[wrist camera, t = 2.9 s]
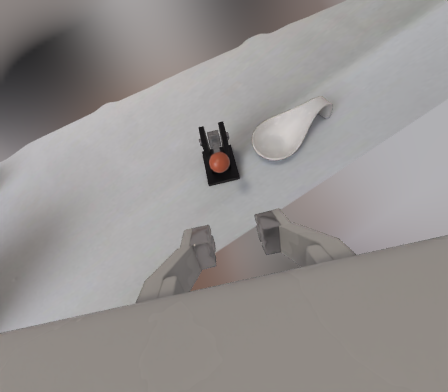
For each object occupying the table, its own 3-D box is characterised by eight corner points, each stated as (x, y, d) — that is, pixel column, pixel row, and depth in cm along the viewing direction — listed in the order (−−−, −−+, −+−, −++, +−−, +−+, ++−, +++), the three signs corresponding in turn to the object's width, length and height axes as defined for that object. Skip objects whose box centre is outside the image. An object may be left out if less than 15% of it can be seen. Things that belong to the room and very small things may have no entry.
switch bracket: (239, 179, 41) (239, 149, 29) (209, 186, 42) (196, 159, 30) (230, 147, 45) (227, 109, 33) (203, 154, 45) (189, 118, 33)
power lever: (232, 173, 25) (229, 155, 23) (212, 178, 25) (207, 160, 23) (222, 142, 35) (219, 127, 33) (208, 145, 35) (204, 131, 33)
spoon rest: (270, 174, 41) (276, 159, 34) (242, 144, 45) (242, 125, 38) (338, 125, 44) (356, 102, 37) (306, 101, 47) (317, 76, 41)
